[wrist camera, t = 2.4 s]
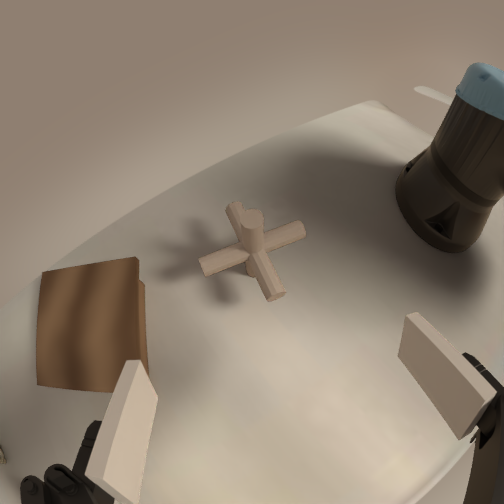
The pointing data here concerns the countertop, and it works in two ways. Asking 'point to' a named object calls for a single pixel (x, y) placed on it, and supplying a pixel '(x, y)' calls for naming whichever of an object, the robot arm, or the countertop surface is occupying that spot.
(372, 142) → the countertop surface
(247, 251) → the pipe connector
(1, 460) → the pneumatic valve
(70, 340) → the walnut stand
